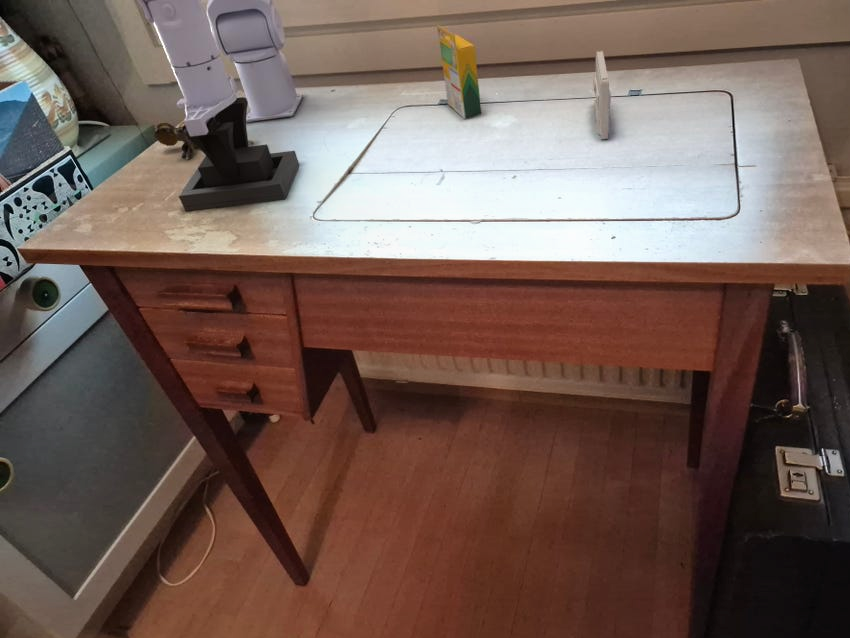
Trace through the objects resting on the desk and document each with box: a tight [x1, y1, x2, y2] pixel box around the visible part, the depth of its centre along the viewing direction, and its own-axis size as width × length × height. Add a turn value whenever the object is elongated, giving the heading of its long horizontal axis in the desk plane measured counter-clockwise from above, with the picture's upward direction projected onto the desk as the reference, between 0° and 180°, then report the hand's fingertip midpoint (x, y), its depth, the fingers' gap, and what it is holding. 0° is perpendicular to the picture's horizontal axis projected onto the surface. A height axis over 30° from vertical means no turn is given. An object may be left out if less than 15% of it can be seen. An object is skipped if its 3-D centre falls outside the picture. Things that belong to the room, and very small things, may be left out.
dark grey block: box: [197, 143, 274, 188], centre depth 86 cm, size 8×5×3 cm, turn 91°
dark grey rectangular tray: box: [178, 150, 300, 212], centre depth 88 cm, size 10×13×2 cm
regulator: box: [153, 121, 254, 160], centre depth 100 cm, size 8×4×15 cm
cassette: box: [593, 49, 612, 140], centre depth 88 cm, size 12×2×8 cm, turn 176°
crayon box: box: [436, 24, 482, 120], centre depth 96 cm, size 7×3×12 cm, turn 23°
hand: (236, 167), depth 87 cm, fingers closed on dark grey block, 5 cm apart
